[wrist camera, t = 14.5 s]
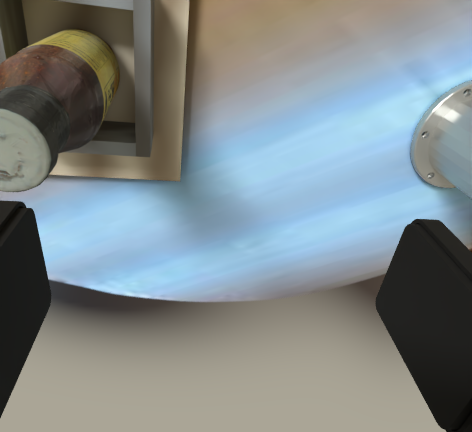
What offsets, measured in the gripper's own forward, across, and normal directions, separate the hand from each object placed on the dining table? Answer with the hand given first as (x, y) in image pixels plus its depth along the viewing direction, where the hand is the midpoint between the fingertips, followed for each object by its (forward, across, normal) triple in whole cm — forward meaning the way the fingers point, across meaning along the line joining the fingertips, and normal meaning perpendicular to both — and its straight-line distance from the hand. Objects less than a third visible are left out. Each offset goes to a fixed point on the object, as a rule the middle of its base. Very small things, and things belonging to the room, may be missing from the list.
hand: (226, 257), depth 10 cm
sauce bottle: (+28, +10, +2) cm, 30 cm away
